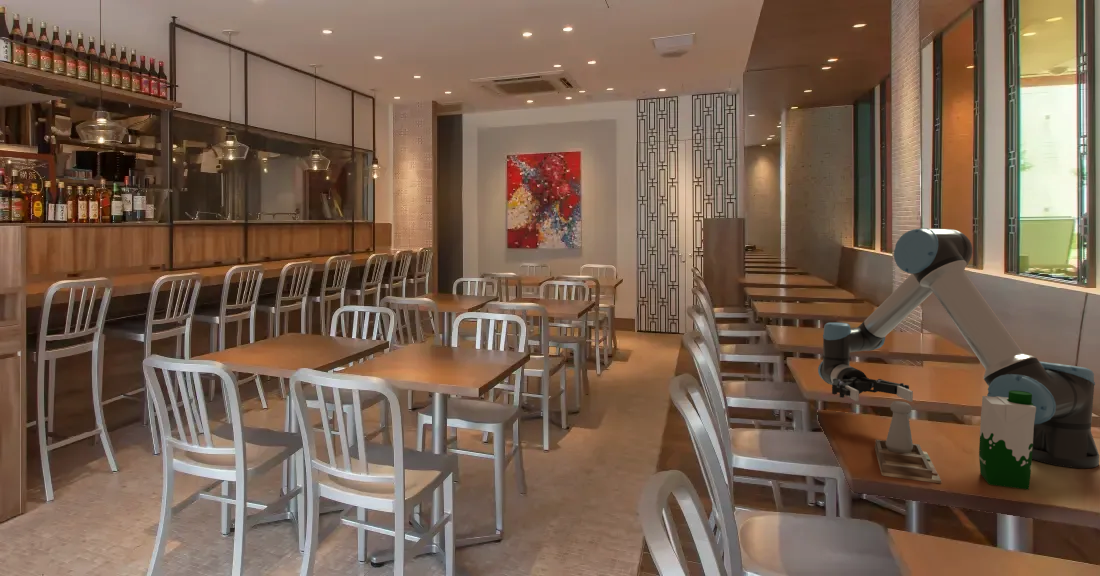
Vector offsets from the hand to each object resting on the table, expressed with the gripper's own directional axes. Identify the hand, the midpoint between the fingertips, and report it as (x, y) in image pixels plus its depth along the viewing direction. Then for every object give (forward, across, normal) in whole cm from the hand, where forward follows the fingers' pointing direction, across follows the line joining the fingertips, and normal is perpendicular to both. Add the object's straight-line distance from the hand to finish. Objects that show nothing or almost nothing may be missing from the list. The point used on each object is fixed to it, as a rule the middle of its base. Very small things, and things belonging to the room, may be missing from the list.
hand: (884, 396), depth 158 cm
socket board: (+15, +2, -13) cm, 20 cm away
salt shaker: (+10, +1, -12) cm, 16 cm away
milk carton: (+25, -14, -13) cm, 31 cm away
